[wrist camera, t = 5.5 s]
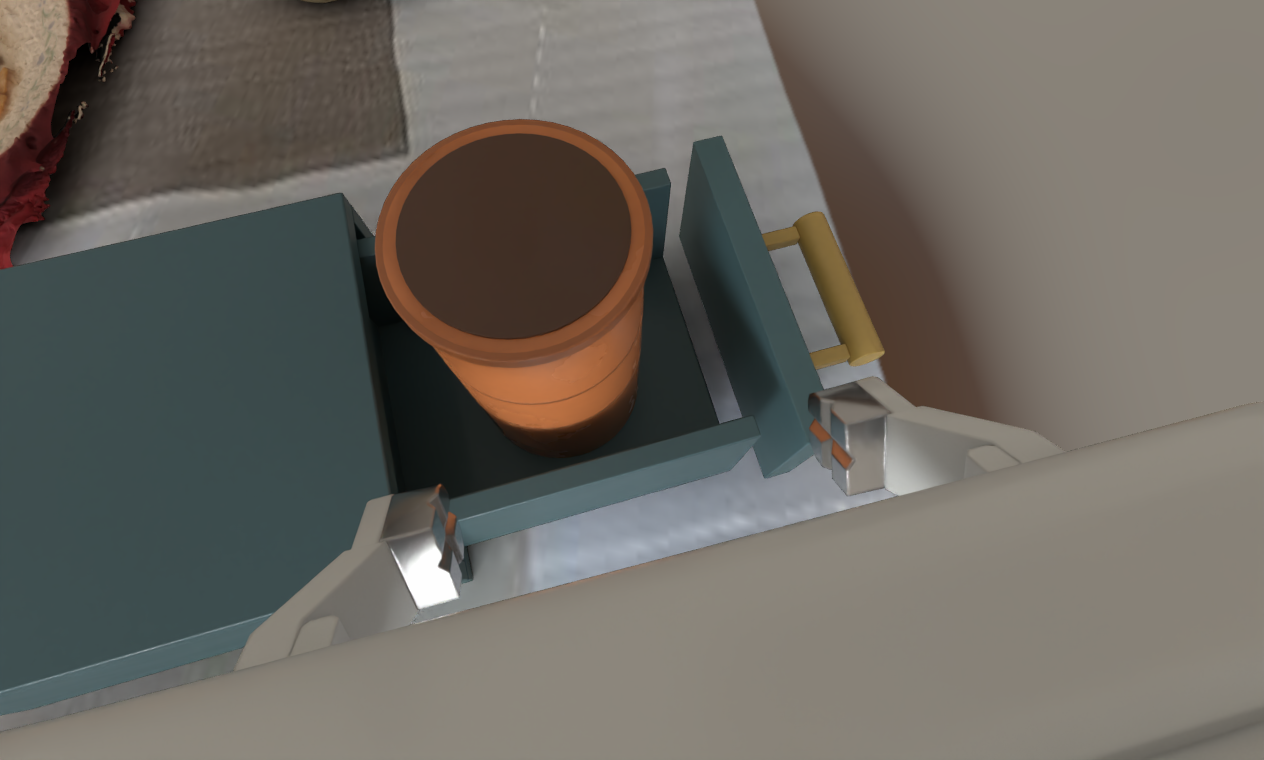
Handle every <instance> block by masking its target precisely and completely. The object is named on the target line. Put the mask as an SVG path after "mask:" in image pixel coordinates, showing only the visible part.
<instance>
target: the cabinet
mask: <svg viewBox="0 0 1264 760" xmlns="http://www.w3.org/2000/svg"><path fill="white" fill-rule="evenodd" d="M372 236H373V234H372V233H371V232H370V230H369V229H368V227H367V226H366V225H365V223H364V222H363V221H362V219H361V218H360V216H359V215H358V214H357V212H356V211H355V209H354V208H353V207H352V205H351V204H350V203H349V202H348V200H347V199H346V197H345V196H344V195H343V193H337V194H332V195H328V196H323V197H319V198H314V199H310V200H306V201H301V202H297V203H292V204H288V205H283V206H279V207H275V208H270V209H266V210H261V211H257V212H253V213H248V214H244V215H239V216H235V217H230V218H226V219H222V220H217V221H213V222H208V223H204V224H200V225H195V226H191V227H186V228H182V229H177V230H173V231H169V232H164V233H160V234H155V235H151V236H146V237H142V238H138V239H133V240H129V241H124V242H120V243H116V244H111V245H107V246H102V247H98V248H93V249H89V250H85V251H80V252H76V253H71V254H67V255H63V256H58V257H54V258H49V259H45V260H40V261H36V262H32V263H27V264H23V265H18V266H14V267H10V268H5V269H1V270H0V715H5V714H10V713H14V712H20V711H25V710H30V709H34V708H37V707H41V706H44V705H48V704H51V703H55V702H58V701H61V700H65V699H68V698H72V697H75V696H79V695H82V694H85V693H89V692H92V691H96V690H99V689H103V688H106V687H109V686H113V685H116V684H120V683H123V682H127V681H130V680H133V679H137V678H140V677H144V676H147V675H151V674H154V673H157V672H161V671H164V670H168V669H171V668H175V667H178V666H181V665H185V664H188V663H192V662H195V661H199V660H202V659H206V658H209V657H212V656H216V655H219V654H223V653H226V652H230V651H233V650H236V649H240V648H243V647H244V646H245V644H246V642H247V640H248V638H249V636H250V634H251V633H252V632H253V631H254V630H256V629H257V628H258V627H259V626H260V625H261V624H262V623H263V622H265V621H266V620H267V619H268V618H269V617H270V616H271V615H272V614H274V613H275V612H276V611H277V610H278V609H279V608H280V607H282V606H283V605H284V604H285V603H286V602H287V601H288V600H289V599H291V598H292V597H293V596H294V595H295V594H296V593H297V592H298V591H300V590H301V589H302V588H303V587H304V586H305V585H306V584H308V583H309V582H310V581H311V580H312V579H313V578H314V577H315V576H317V575H318V574H319V573H320V572H321V571H322V570H323V569H324V568H326V567H327V566H328V565H329V564H330V563H331V562H332V561H334V560H335V559H336V558H337V557H338V556H339V555H340V554H341V553H343V552H344V551H347V550H351V548H352V545H353V542H354V539H355V536H356V533H357V530H358V527H359V524H360V522H361V519H362V516H363V513H364V510H365V507H366V504H367V502H368V501H370V500H372V499H375V498H379V497H383V496H387V495H391V494H396V493H398V489H397V483H396V477H395V471H394V465H393V459H392V453H391V447H390V441H389V434H388V428H387V422H386V416H385V410H384V404H383V398H382V392H381V386H380V380H379V373H378V367H377V361H376V355H375V349H374V343H373V337H372V331H371V325H370V319H369V313H368V306H367V300H366V294H365V288H364V282H363V276H362V270H361V264H360V258H359V252H358V245H357V240H359V239H363V238H368V237H372ZM459 568H460V571H461V573H462V580H461V584H463V583H466V582H470V581H472V580H473V577H472V571H471V566H470V561H469V556H468V551H467V546H464V558H463V560H462V561H461V563H460V564H459Z"/></svg>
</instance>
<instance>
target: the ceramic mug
mask: <svg viewBox="0 0 1264 760" xmlns="http://www.w3.org/2000/svg"><path fill="white" fill-rule="evenodd" d="M302 1H306V2H315V3H327V2H332V1H337V0H302Z"/></svg>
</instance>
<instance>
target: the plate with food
mask: <svg viewBox="0 0 1264 760" xmlns="http://www.w3.org/2000/svg"><path fill="white" fill-rule="evenodd" d="M135 5H136V2H135V1H134V0H0V270H1V269H5V268H10V267H13V265H12V263H11V260H10V251H11V249H12V246H13V242H14V241H15V235H16V232H17V230H18V228H19V227H20V225H21V224H24V223H28V222H35V221H39V220H45V218H44V217H43V216H42V215H41V213H42V212H44V210H45V209H47V208H48V207H50V205H49V204H44V203H43V202H44V201H47V200H49V198H47V197H46V196H45V190H46V189H47V187H48V186H49V182H50V177H49V175H50V174H53V173H55V172H56V164H57V163H58V162H59V160H60V158H62V157H63V152H64V150H65V145H66V143H67V138H68V136H69V128H71V127H72V121H75V122H74V123H77V120H79V119H83V117H84V114H83V113H82V110H83V109H85V108H86V107H88V105H87V104H86V102H84V101H82V102H81V103H80V104H81V106H77V110H78V112H77V113H76V115H75V116H74V113H75V110H72V111H71V112H70V113H69V115H68V118H67V120H66V122H65V125H64V127H63V128H62V129H61V130H60V131H59V133H58V134H57V135H56V136H55V137H54V138H53V137H52V134H51V119H52V115H53V111H54V106H55V102H56V97H57V95H58V92H59V86H60V84H61V83H63V81H64V79H65V76H66V75H67V73H68V65H69V61H70V60H71V59H73V58H74V57H75V56H76V51H77V49H78V48H79V47H80V46H81V45H83V44H84V43H87V42H88V43H89V51H90V52H91V53H94V52H95V53H96V54H97V57H96V59H95V60H96V61H100V62H101V64H100V65H99V68H98V76H100V77H98V81H102V82H105V81H106V77H105V76H104V77H102V68H104V66H105V64H106V62H109V61H111V60H110V59H109V56H110V55H111V51H113V50H111V47H112V46H116V44H114V42H115V40H119V38H120V37H123V36H124V32H123V31H124V30H128V29H131V28H132V21H133V20H135V16H133V13H134V11H133V10H131V9H130V8H131V7H134V6H135ZM112 63H113V62H112V61H111V64H112ZM117 68H118V66H115V67H114V69H117ZM110 72H111V73H112V72H113V69H112V68H111V69H110ZM105 73H106V72H105V70H104V71H103V74H105Z"/></svg>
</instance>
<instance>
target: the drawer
mask: <svg viewBox="0 0 1264 760" xmlns="http://www.w3.org/2000/svg"><path fill="white" fill-rule="evenodd" d="M635 176H636V178H637V180H638V181H639V183H640V185H641V186H642V188H643V191H644V193H645V196H646V198H647V200H648V204H649V208H650V211H651V215H652V224H653V248H652V257H651V263H650V268H649V272H648V275H647V278H646V280H645V283H644V298H643V299H644V301H643V316H642V331H641V351H640V364H639V381H638V393H637V398H636V402H635V405H634V408H633V411H632V413H631V415H630V417H629V419H628V420H627V422H626V423H625V425H624V426H623V428H622V429H621V430H620V431H619V432H618V433H617V434H616V435H615V436H614V437H613V438H612V439H611V440H610V441H608V442H607V443H605V444H604V445H602V446H601V447H599V448H597V449H595V450H593V451H591V452H588V453H586V454H583V455H579V456H574V457H568V458H550V457H544V456H539V455H536V454H533V453H530V452H528V451H526V450H524V449H522V448H520V447H518V446H517V445H515V444H514V443H512V442H511V441H510V440H509V439H508V438H507V437H505V436H504V434H503V433H502V432H501V431H500V430H499V429H498V427H497V426H496V425H495V424H494V422H493V421H492V420H491V419H490V417H489V416H488V415H487V414H486V412H485V411H484V410H483V409H482V407H481V406H480V405H479V404H478V402H477V401H476V400H475V399H474V398H473V397H472V395H471V394H470V393H469V391H468V390H467V389H466V387H465V386H464V385H463V384H462V382H461V381H460V380H459V379H458V377H457V376H456V375H455V374H454V373H453V371H452V370H451V369H450V368H449V367H448V366H447V364H446V363H445V362H444V360H443V359H442V358H441V356H440V355H439V354H438V353H437V351H436V350H435V349H434V348H433V346H432V345H430V344H429V343H427V342H425V341H424V340H423V339H422V338H421V337H420V336H418V335H417V334H416V333H415V332H414V331H413V330H412V329H411V328H410V327H409V326H408V325H407V324H406V322H405V321H404V320H403V319H402V318H401V317H400V315H399V314H398V313H397V312H396V311H395V309H394V307H393V306H392V304H391V303H390V301H389V299H388V298H387V296H386V294H385V291H384V289H383V287H382V284H381V282H380V278H379V275H378V271H377V267H376V258H375V237H376V236H372V237H368V238H363V239H359V240H357V245H358V252H359V258H360V264H361V270H362V276H363V282H364V288H365V294H366V300H367V306H368V313H369V319H370V325H371V331H372V337H373V343H374V349H375V355H376V361H377V367H378V373H379V380H380V386H381V392H382V398H383V404H384V410H385V416H386V422H387V428H388V434H389V441H390V447H391V453H392V459H393V465H394V471H395V477H396V483H397V489H398V493H401V492H405V491H410V490H414V489H418V488H423V487H427V486H432V485H436V484H442V485H443V486H444V487H445V488H446V491H447V493H448V495H449V498H450V505H449V512H451V513H452V514H454V515H456V516H457V519H458V521H459V524H460V528H461V531H462V535H463V544H464V546H468V545H471V544H475V543H478V542H482V541H485V540H489V539H492V538H496V537H499V536H503V535H506V534H510V533H513V532H517V531H520V530H524V529H527V528H531V527H534V526H538V525H541V524H545V523H548V522H552V521H555V520H559V519H562V518H566V517H569V516H573V515H576V514H580V513H583V512H587V511H590V510H594V509H597V508H601V507H604V506H608V505H611V504H615V503H618V502H622V501H625V500H629V499H632V498H636V497H639V496H643V495H646V494H650V493H653V492H657V491H660V490H664V489H667V488H671V487H674V486H678V485H681V484H685V483H688V482H692V481H695V480H699V479H702V478H706V477H709V476H713V475H716V474H720V473H723V472H727V471H730V470H731V469H732V468H733V467H734V466H735V465H736V464H737V462H738V461H739V460H740V459H741V458H742V457H743V456H744V455H745V453H746V452H747V451H748V450H749V449H750V448H751V447H752V446H753V448H754V450H755V453H756V456H757V459H758V462H759V465H760V467H761V470H762V473H763V476H764V478H769V477H773V476H776V475H780V474H783V473H787V472H790V471H791V470H792V469H794V468H795V467H797V466H798V465H799V464H801V463H802V462H804V461H805V460H807V459H808V458H809V457H811V456H812V455H814V453H813V450H812V446H811V443H810V436H809V427H810V425H811V423H812V422H813V420H814V417H813V416H812V415H811V413H810V412H809V411H808V397H809V394H811V393H814V392H818V391H822V390H824V389H823V386H822V384H821V381H820V379H819V376H818V374H817V371H816V370H817V369H821V368H824V367H828V366H832V365H835V364H839V363H843V362H846V361H848V363H849V365H850V366H860V365H863V364H866V363H869V362H871V361H874V360H876V359H878V358H879V357H881V356H882V355H883V354H884V353H885V351H884V349H883V347H882V344H881V342H880V340H879V337H878V335H877V333H876V331H875V329H874V326H873V324H872V322H871V320H870V317H869V315H868V312H867V310H866V308H865V306H864V303H863V301H862V299H861V297H860V294H859V292H858V290H857V288H856V285H855V283H854V281H853V279H852V276H851V274H850V272H849V270H848V267H847V265H846V263H845V261H844V258H843V256H842V254H841V252H840V249H839V247H838V245H837V242H836V240H835V238H834V236H833V233H832V231H831V229H830V227H829V224H828V222H827V220H826V218H825V215H824V214H823V213H822V212H812V213H809V214H806V215H804V216H802V217H801V218H799V219H798V220H797V221H796V222H795V223H794V224H793V226H792V227H789V228H785V229H781V230H777V231H773V232H769V233H765V234H761V232H760V229H759V227H758V224H757V222H756V219H755V217H754V214H753V212H752V209H751V207H750V204H749V202H748V199H747V197H746V194H745V192H744V189H743V187H742V184H741V182H740V179H739V177H738V174H737V172H736V169H735V167H734V164H733V162H732V159H731V157H730V154H729V152H728V149H727V147H726V144H725V142H724V139H723V137H722V136H717V137H713V138H709V139H704V140H700V141H696V142H693V148H692V154H691V161H690V168H689V174H688V181H687V188H686V194H685V201H684V207H683V214H682V221H681V227H680V234H679V238H680V240H681V243H682V246H683V249H684V252H685V255H686V257H687V260H688V263H689V266H690V269H691V272H692V274H693V277H694V280H695V283H696V286H697V289H698V292H699V294H700V297H701V300H702V303H703V306H704V309H705V311H706V314H707V317H708V320H709V323H710V326H711V328H712V331H713V334H714V337H715V340H716V343H717V345H718V348H719V351H720V354H721V357H722V360H723V362H724V365H725V368H726V371H727V374H728V377H729V379H730V382H731V385H732V388H733V391H734V394H735V396H736V399H737V402H738V405H739V408H740V411H741V414H742V416H743V417H742V418H739V419H735V420H732V421H728V422H724V423H721V424H719V421H718V418H717V415H716V412H715V409H714V406H713V403H712V400H711V397H710V394H709V392H708V389H707V386H706V383H705V380H704V377H703V374H702V371H701V368H700V365H699V362H698V359H697V356H696V353H695V350H694V347H693V344H692V341H691V338H690V335H689V333H688V330H687V327H686V324H685V321H684V318H683V315H682V312H681V309H680V306H679V303H678V300H677V297H676V294H675V291H674V288H673V285H672V282H671V279H670V276H669V274H668V271H667V268H666V265H665V262H664V259H663V251H664V242H665V233H666V224H667V215H668V206H669V197H670V188H671V182H670V179H669V177H668V174H667V171H666V169H665V168H662V169H658V170H654V171H650V172H645V173H641V174H637V175H635ZM797 242H798V244H799V246H800V249H801V251H802V254H803V256H804V258H805V261H806V263H807V266H808V268H809V270H810V273H811V275H812V277H813V280H814V282H815V285H816V287H817V289H818V292H819V294H820V296H821V299H822V301H823V304H824V306H825V308H826V311H827V313H828V315H829V318H830V320H831V323H832V325H833V327H834V330H835V332H836V335H837V337H838V339H839V342H840V344H841V345H838V346H834V347H830V348H827V349H823V350H819V351H816V352H812V353H809V351H808V349H807V346H806V344H805V341H804V339H803V336H802V334H801V331H800V329H799V327H798V324H797V322H796V319H795V317H794V314H793V312H792V309H791V307H790V304H789V302H788V299H787V297H786V294H785V292H784V289H783V287H782V284H781V282H780V279H779V277H778V274H777V272H776V269H775V267H774V264H773V262H772V259H771V257H770V254H769V252H768V251H772V250H776V249H780V248H784V247H788V246H792V245H795V244H797Z"/></svg>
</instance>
